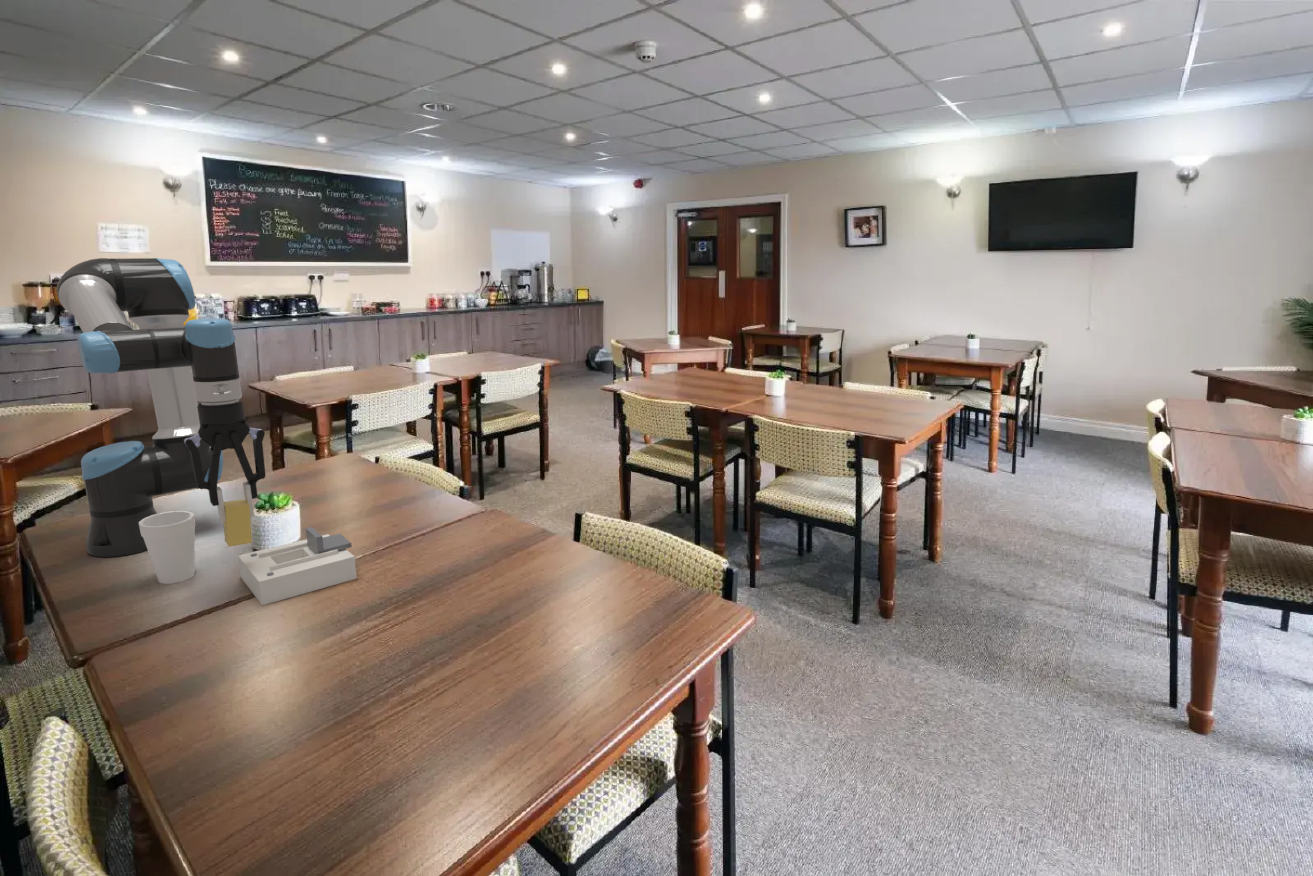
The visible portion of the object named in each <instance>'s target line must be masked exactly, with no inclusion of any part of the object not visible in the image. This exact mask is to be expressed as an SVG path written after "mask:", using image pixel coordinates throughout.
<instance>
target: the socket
mask: <svg viewBox="0 0 1313 876" xmlns="http://www.w3.org/2000/svg"><path fill="white" fill-rule="evenodd" d="M328 536H331V535H330V534H328V533H327V534H323V535H322V538H323V537H328ZM237 559H238V566H239V573H240V578H241V579H242V580H243V583H244V584H245V585H246V586H247V587H248V589H249V590H250V592H251V593H252V594H253V596H255V598H256V599H257V600H258V602H259V603H260V605H261V606H265V605H269V604H273V603H276V602H279V601H282V600H287V599H289V598H293V597H297V596H300V595H304V594H307V593H311V592H314V591H317V590H321V589H325V588H328V587H332V586H336V585H339V584H342V583H347V582H350V581H353V580H357V569H356V568H357V567H356V557H355V556H354V555H353V554H352V553H351V552H350V551H349V550H348V549H347V548H346V549H342V550H339V551H338V550H337V549H336V550H332V551H328V552H324V553H320V554H316V553H315V552H314V551H313V550H312V549H311V548H310V547H309V546H308V544H307V538H305V539H303V540H298V541H294V542H290V543H286V544H281V545H277V546H272V547H269V548H264V549H259V550H256V551H251V552H247V553H243V554H240V555H237Z"/></svg>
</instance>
